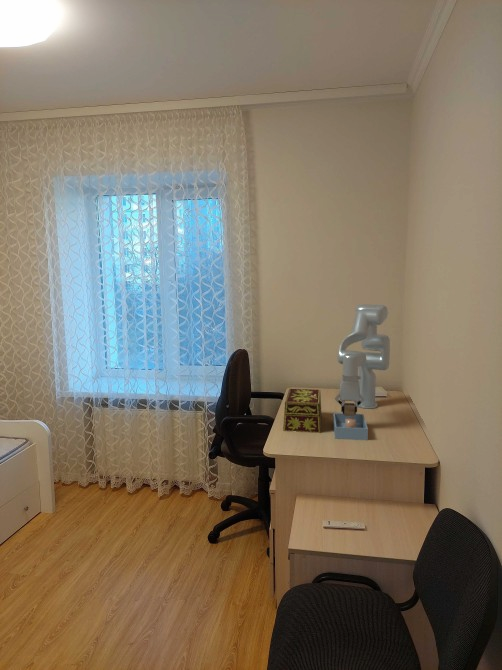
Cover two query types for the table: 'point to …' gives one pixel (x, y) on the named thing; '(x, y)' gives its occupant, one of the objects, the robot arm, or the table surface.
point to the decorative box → (303, 411)
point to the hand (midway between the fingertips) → (349, 413)
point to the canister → (350, 423)
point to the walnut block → (349, 409)
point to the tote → (350, 433)
